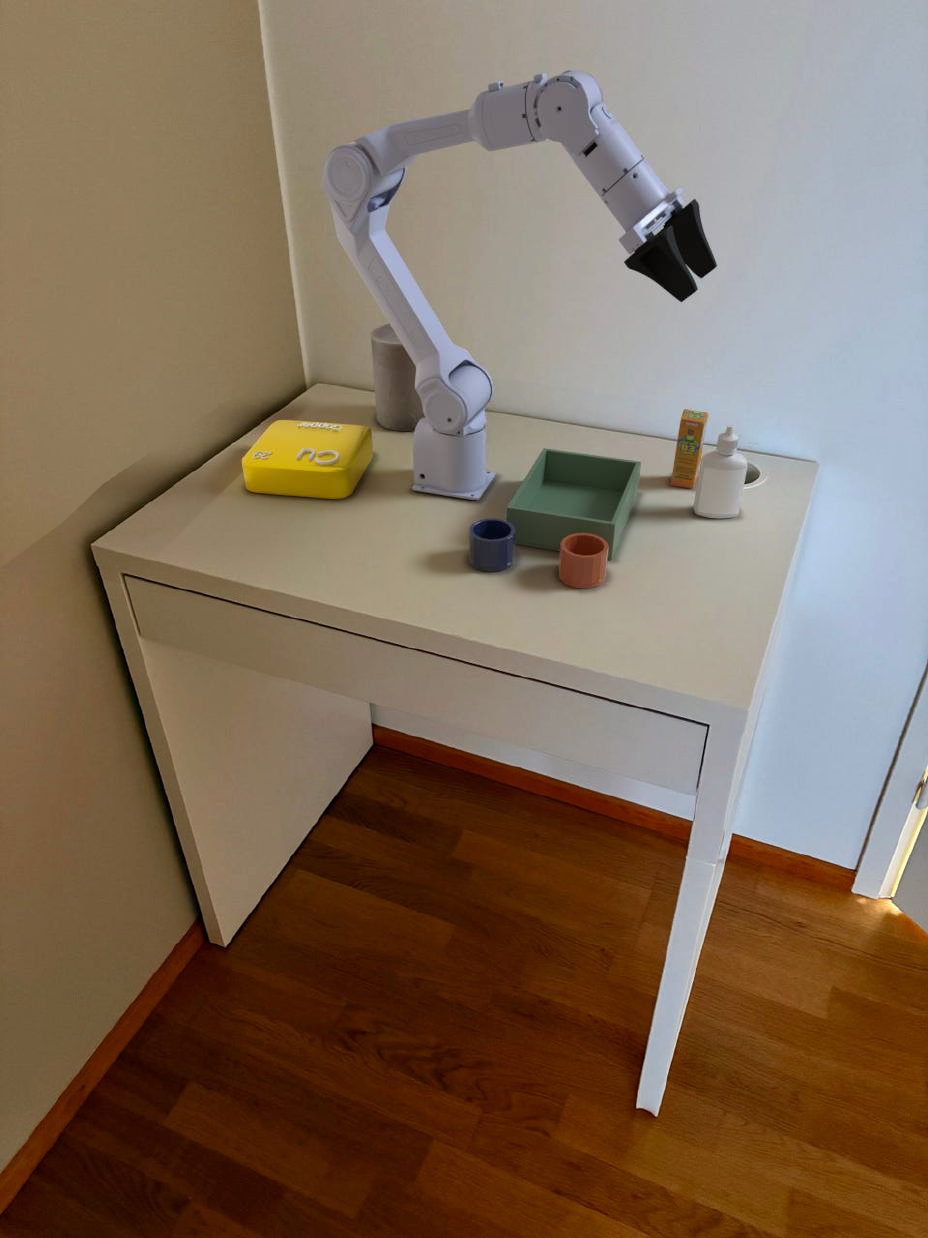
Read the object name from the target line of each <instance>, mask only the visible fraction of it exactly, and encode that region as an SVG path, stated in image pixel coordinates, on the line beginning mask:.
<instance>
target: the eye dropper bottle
mask: <svg viewBox="0 0 928 1238" xmlns="http://www.w3.org/2000/svg"><path fill="white" fill-rule="evenodd" d="M734 429H735V427H734V425H733V424H728V425H727V426H726V428H725V431H724V432H721V433H720V434H718V438H717V443H716V448H715V450H713V451H710V452H707V453H705V454H704V455H702V456H701V460H700V467H699V473H698V479H697V481H696V486H695V487H696V488H695V495H694V500H693V510H694V513H695V515H697V516H701V517H703V518H709V519H731V518H735V517H737V516H739V512H740V508H741V502H742V497H743V493H744V487H745V481H746V477H747V471H748V460H747V458H746V457H745V455H743V454H741V453H739V452H737V450H738V447H739V446H738V445H739V440H740V437H739V436H738V434H737V433H735V430H734Z"/></svg>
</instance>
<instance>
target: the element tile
mask: <svg viewBox="0 0 928 1238" xmlns="http://www.w3.org/2000/svg"><path fill="white" fill-rule="evenodd" d="M372 434H373V432H372V430H371V428H370V427H369V426H367V425H361V424H350V423H348V424H347V423H335V422H334V423H333V422H319V421H306V420H305V421H304V420H292V419H278V420H275V421H274V422H272V423H271V424H270V425H269V426H268V427H267V428H266V430H265V431H264V432H263V433H262V434H261V436H260V437H259V438H258V439H257V441H255V442H254V444H253V445H252V446H251V448H250V449H249V450H248V451H247V452H246V454H245V455H244V456H243V457H242V458H241V466H242V472H243V478H244V484H245V489H246V490H247V491H249V492H250V493H251V492H252V493H254V494H255V493H256V494H265V495H274V496H275V495H276V496H288V497H301V498H313V499H324V500H325V499H326V500H341V499H345V498H347V497H349V496H351V495H352V494H353V492H354V490H355V488H356V487H357V486H358V483H359V482H360V480H361V478H362V476H363V475H364V473H365V471H366V469H367V468H368V466H369V465H370V463H371V461H372V459H373V457H374V449H373V448H374V447H373V435H372Z"/></svg>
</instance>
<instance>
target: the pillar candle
mask: <svg viewBox="0 0 928 1238" xmlns="http://www.w3.org/2000/svg"><path fill="white" fill-rule="evenodd" d="M369 335H370V343H371V357H372V370H373V371H372V372H373V385H374V386H373V387H374V398H375V412H376V413H375V414H376V421H377V422H378V423H379V424H380V426H381V427H383V428H385V429H387V430H389V431H390V430H391V431H397V432H413V431H414V432H415V428H416V426H417V424H418V422H419V420H420V419H422V418H425V415H424V412H423V407H422V401H421V399H420V396H419V395H418V393H417V391H416V390H415V378H416V366H415V364H414V362H413V361H412V359H411V358H410V356H409V354H408V353H407V351H406V349H405V348H404V346H403V345H402V343H401V341H400V340H399V338H398V336H397V335H396V333H395V332H394V330H393V328H392V327H391V325H390V323H389V322H388V323H386V324H382V325H379V326H376V327H374V328H373V329H372V331H370V334H369Z"/></svg>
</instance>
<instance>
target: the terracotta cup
mask: <svg viewBox="0 0 928 1238" xmlns="http://www.w3.org/2000/svg"><path fill="white" fill-rule="evenodd" d="M608 549H609V546H608V543H607V541H605V540H604V539H603V538H602V537H599V536H597V535H594V534H589V533H575V534H571V535H568V536H566V537H565V538H563V539H562V541H561V543H560V551H559V557H558V558H559V559H558V577H559V579H560V581H561V582H562V583H563V584H565V585H566V586H569V587H571V588H576V589H581V590H582V589H586V590H587V589H592V588H596V587H599V586H601V585H602V584H603V583H604V581H605V580H606V574H607V568H608Z"/></svg>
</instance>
